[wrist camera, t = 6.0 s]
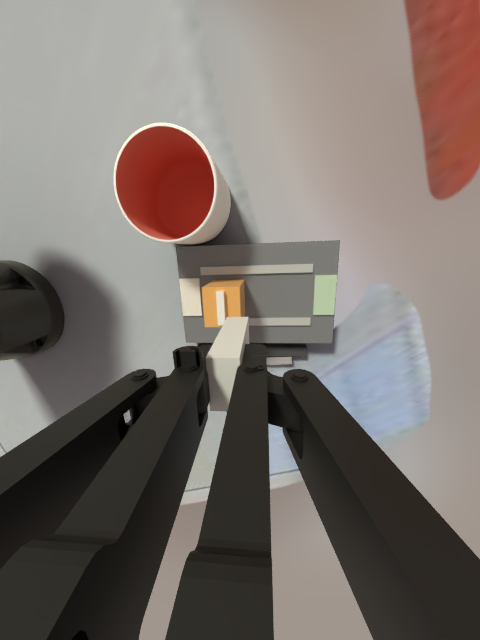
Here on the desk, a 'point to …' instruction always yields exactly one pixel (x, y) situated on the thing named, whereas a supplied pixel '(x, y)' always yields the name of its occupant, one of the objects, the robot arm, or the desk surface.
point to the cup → (170, 186)
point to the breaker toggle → (223, 301)
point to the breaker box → (265, 288)
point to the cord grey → (278, 360)
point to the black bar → (282, 349)
